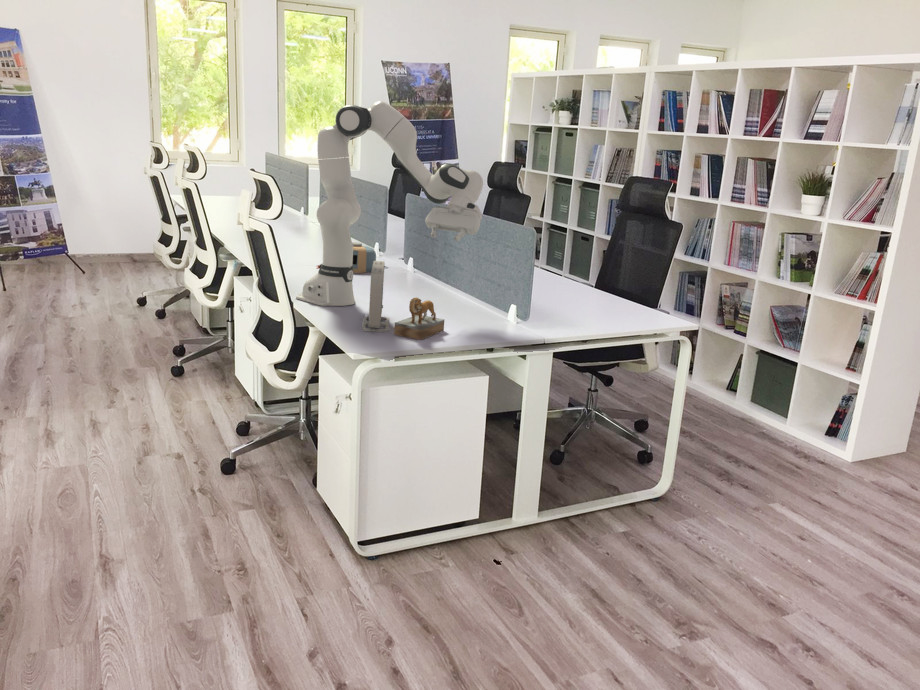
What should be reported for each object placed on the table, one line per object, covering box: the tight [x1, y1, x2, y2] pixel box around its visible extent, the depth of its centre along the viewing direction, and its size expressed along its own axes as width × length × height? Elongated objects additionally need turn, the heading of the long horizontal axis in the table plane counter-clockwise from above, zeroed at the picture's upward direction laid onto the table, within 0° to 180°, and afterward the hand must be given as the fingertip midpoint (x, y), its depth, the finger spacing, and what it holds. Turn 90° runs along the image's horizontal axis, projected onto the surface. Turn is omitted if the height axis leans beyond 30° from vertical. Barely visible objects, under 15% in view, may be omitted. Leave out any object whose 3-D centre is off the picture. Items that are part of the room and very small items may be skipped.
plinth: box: [393, 314, 446, 341], centre depth 265 cm, size 10×16×4 cm, turn 153°
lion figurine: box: [408, 296, 437, 324], centre depth 263 cm, size 15×5×9 cm, turn 155°
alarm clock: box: [352, 241, 377, 274], centre depth 369 cm, size 19×20×12 cm
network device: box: [361, 260, 390, 333], centre depth 269 cm, size 26×9×20 cm, turn 4°
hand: (444, 238), depth 282 cm, fingers open, 8 cm apart
